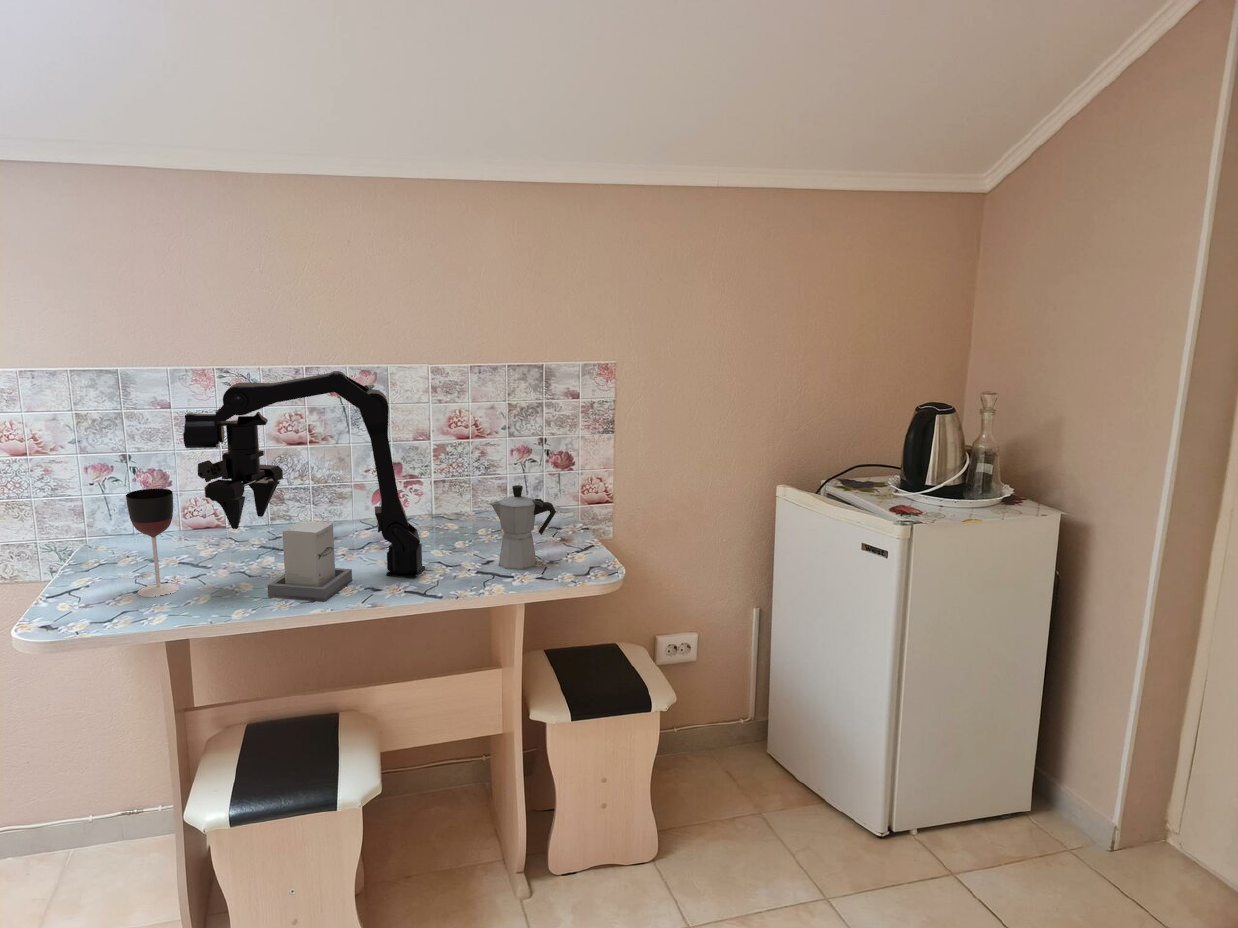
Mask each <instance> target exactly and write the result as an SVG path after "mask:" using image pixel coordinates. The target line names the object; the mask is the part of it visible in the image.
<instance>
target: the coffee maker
mask: <svg viewBox="0 0 1238 928" xmlns="http://www.w3.org/2000/svg"><path fill="white" fill-rule="evenodd" d="M523 488H524V487H523V485H519V484H518V485H517V484H516V485H512V493H513V495H512V496H508V497H504V498H502V499H499V500H497V501H493V502H490V503H488V505H490V506H491V507H492V508H493V511H495V514H496V516H497V517H498V519H499V522H500V526H501V530H503V535H502V540H501V546H500V553H499V560H498V566H499V567H501V568H504V569H506V570H513V571H514V570H518V571H522V570H523V571H524V570H527V569H530V568H534V567H536V564H537V556H536V550H535V545H534V538H533V534H532V532H533V531H534V529H535V528H534V527H535V521H536V515H539V514H542V513H545V512H549V515H548V516H547V518H545V520H544V522H543V524H541V527H540V528H539V529H538V531H537V532H538V534H540V535H541V536H542V535H543V534H544V532H545V530H546V529H547V527H548V526H549V524H550V522H552V519H553V518H554V516H555V515H556V513H557V511H556V508H555V507H554V504H553V503H551V502H549V501H544V500H543V499H542V498H532V497H527V496H523V495H522V494H523V493H522V492H523Z"/></svg>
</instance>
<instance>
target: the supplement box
mask: <svg viewBox="0 0 1238 928" xmlns="http://www.w3.org/2000/svg"><path fill="white" fill-rule="evenodd" d="M281 531H282V532H281V533H282V546H283V547H282V549H283V564H284V574H285V584H287V585H300V586H313V587H323V586H324V585H326V584H327V583H329V582H330V581H331V580H333V579H334V578H335V568H336V564H335V560H336V559H335V540H334V539H335V538H334V523H333V522H326V521H325V522H322V521H310V520H309V521H307V520H306V521H305V520H304V521H303V520H301V521H299V522H297V523H295V524H293V525H291V526H289V527H287V528H286V529H283V530H281Z"/></svg>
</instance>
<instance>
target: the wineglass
mask: <svg viewBox="0 0 1238 928" xmlns="http://www.w3.org/2000/svg"><path fill="white" fill-rule="evenodd" d="M125 499H126V506H127V511H128V515H129V519H130V522H131V525H133V527H134V528H135V529H136V531H137V532H139V533H141V534H144V535H145V536H146V535H147V536H148V537H151V545H152V555H153V556H152V557H153V566H154V575H155V577H154V578H155V584H151V585H148V586H145V587H143V588H140V589H139V590H138V591H137V595H138V596H140V597H144V598H156V597H157V598H158V597H161V596H160V595H164V594H168V595H171V594H173V593H175V592H178V591H179V590H180V589H181V588H180V585H178V584H175V583H170V582H169V583H161V576H160V566H159V555H158V546H157V545H158V543H157V536H159V535H160V534H162V533H164V532H165V531H167V529H168V528H169V527H170V526H171V523H172V521H173V515H174V495H173V491H172V490H171V489H168V488H144V489H143V488H142V489H137V490H133V491H130V492H128V493H126V494H125ZM177 590H178V591H177ZM170 593H171V594H170ZM155 596H156V597H155ZM164 596H165V595H164Z"/></svg>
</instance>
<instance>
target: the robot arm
mask: <svg viewBox="0 0 1238 928" xmlns="http://www.w3.org/2000/svg"><path fill="white" fill-rule="evenodd" d="M331 393H335V394H337V395H339V396H340V397H341V398H342V399H344V400H345V401H347V402H348V403H350V404H351V405H352V406H354V407H355V408H357V409H358V410H359V413H360V415H361V418H362V421H363V424H364V425H365V426H364V427H365V429H366V430H367V433H368V436H369V439H370V443H371V451H372V455H373V461H374V466H375V472H376V478H377V482H378V483H377V484H378V489H379V492H380V493H379V495H380V506H377V505H376V506H374V515H375V516H374V517H375V518H376V521H377V522H376V525H377V533H381V535H382V537H383V539H384V540H386V541H387V542H389V543H390V545H388V551H387V552H386V567H387V568H386V569H387V572H386V576H388V577H400V578H413V579H414V578H417V577H418V576H419V575H420V573H422V572H423V571H424V570H425V569H426V566H425V565H423V549H422V544H423V543H421V539H420V536H419V531H418V528H416V527H415V526H413V525H412V524H411V523H410V522H409V520H408V517H407V514H406V511H405V509H404V506H403V503H402V500H401V499H400V496H399V492H398V488H397V487H398V486H397V481H396V475H395V467H394V464H393V458H392V452H391V446H390V441H389V440H390V439H389V403H388V398H387V396H386V395H385V393H384V392H382V391H381V390H378V389H369V388H367V387H366V386H364V385H363V384H361V383H359V382H357V381H355V380H354V379H353V378H350V377H349V376H347V375H346V374H345V373H344V372H342V371H339V370H334V371H333V370H332V371H331V372H328V373H324V374H323V373H322V374H316V375H312V376H307V377H306V376H305V377H300V378H295V379H287V380H283V381H282V380H281V381H277V382H251V381H250V382H237V383H234V384H232V385H230V387H228V389H226V391H225V392H224V393H223V396H222V406H221V407H220V408H218V409H217V410H216V411H215V413H193V412H191V413H186V414H185V415H184V426H183V427H184V430H183V433H182V435H183V436H182V437H183V443H184V447H185V449H214V448H215V449H217V448H219V444H220V443H224V442H225V430H226V442H227V443H226V444H227V445H226V446H227V452H223V453H222V456H221V458H222V459H221V460H219V461H216V462H214V463H213V462H212V461H211V460H209V459H208V460H204V461H202V462H199V463H197V476H198V477H199V478H200V479H202V480H203V479H204V481H205V483H207V484H206V485H205V486H204V498H207V499H209V500H210V501H211V502H212V501H213V502H215V503H217V504H219V506H221V509H222V510H223V512H224V515H225V517H226V519H227V521H228V523H229V524H230V527H231V530H238V528H239V525H240V522H241V519H242V514H243V509H244V505H245V501H246V496H244V493H245V487H247V486H249V488H250V489H251V490H252V492H253V498H254V505H255V510H256V515H257V517H259V518H260V517H262V518H263V517H264V515H265V513H266V511H267V508H268V506H269V503H270V501H271V500H272V497H273V495H274V493H275V492H276V489H277V487H278V485H280V483H281V482H280V480H283V479H284V475H283V473H284V472H283V469H282V468H281V467H280V466H279V465H273V464H272V465H271V464H261V461H260V458H261V457H263V456H265V455H264V450H262V449H261V450H260V444H259V430H258V429H259V428H258V426H266V425H267V424H268V421H269V420H268V419H267V418H266V417H264V416H263V415H262V414H261V412H260V411H259V410H261V409H263V408H266V407H268V406H270V405H273V404H277V403H282V402H286V401H292V400H298V399H304V398H309V397H314V396H320V395H325V394H331ZM256 411H257V412H256ZM253 412H256V413H255V414H254V415H248V414H250V413H253ZM234 416H237V419H235V420H229V419H231V418H233V417H234ZM225 428H226V429H225ZM219 478H221V479H219ZM212 480H214V481H212ZM208 482H209V483H208Z"/></svg>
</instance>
